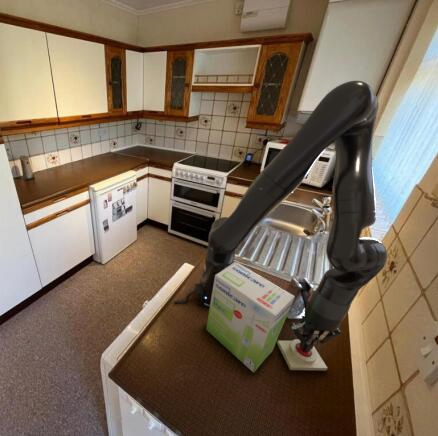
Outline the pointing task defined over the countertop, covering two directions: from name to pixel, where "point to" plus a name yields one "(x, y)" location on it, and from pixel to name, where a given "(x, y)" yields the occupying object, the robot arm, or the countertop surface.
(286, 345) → the button block
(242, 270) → the toothbrush box
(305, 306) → the press lever
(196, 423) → the countertop surface
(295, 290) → the grey upright angular piece
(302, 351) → the stop button
